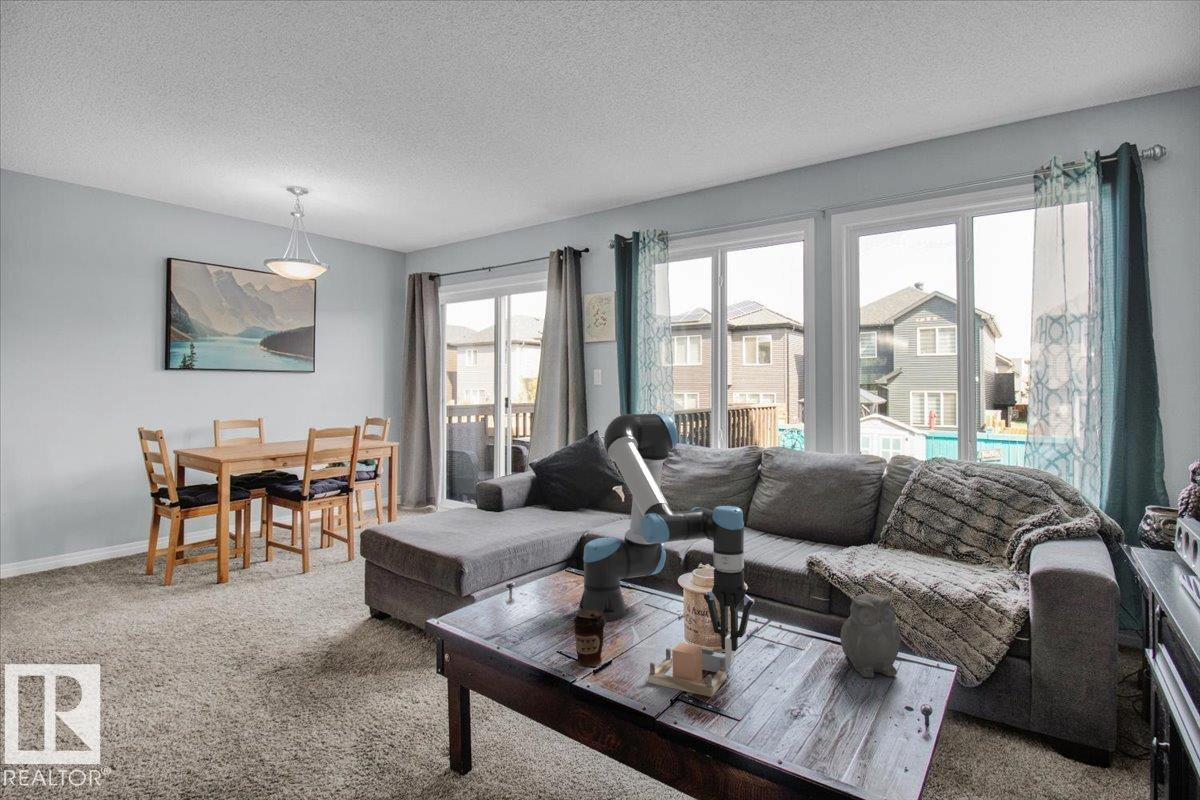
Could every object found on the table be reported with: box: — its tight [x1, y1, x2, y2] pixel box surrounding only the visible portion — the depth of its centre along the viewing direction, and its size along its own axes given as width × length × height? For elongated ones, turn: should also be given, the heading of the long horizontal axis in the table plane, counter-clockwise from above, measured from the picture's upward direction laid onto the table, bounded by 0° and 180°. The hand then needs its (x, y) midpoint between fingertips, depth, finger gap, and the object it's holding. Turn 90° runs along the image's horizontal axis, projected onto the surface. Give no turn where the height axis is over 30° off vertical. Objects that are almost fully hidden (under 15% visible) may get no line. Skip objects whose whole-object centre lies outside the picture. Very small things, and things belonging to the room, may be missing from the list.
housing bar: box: [702, 646, 729, 674], centre depth 155 cm, size 2×10×5 cm, turn 61°
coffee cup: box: [573, 610, 606, 667], centre depth 160 cm, size 9×8×13 cm
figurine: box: [839, 592, 902, 678], centre depth 156 cm, size 14×16×20 cm
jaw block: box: [671, 641, 703, 683], centre depth 149 cm, size 6×6×8 cm
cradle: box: [647, 648, 728, 698], centre depth 149 cm, size 12×16×4 cm
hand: (729, 662), depth 153 cm, fingers closed
